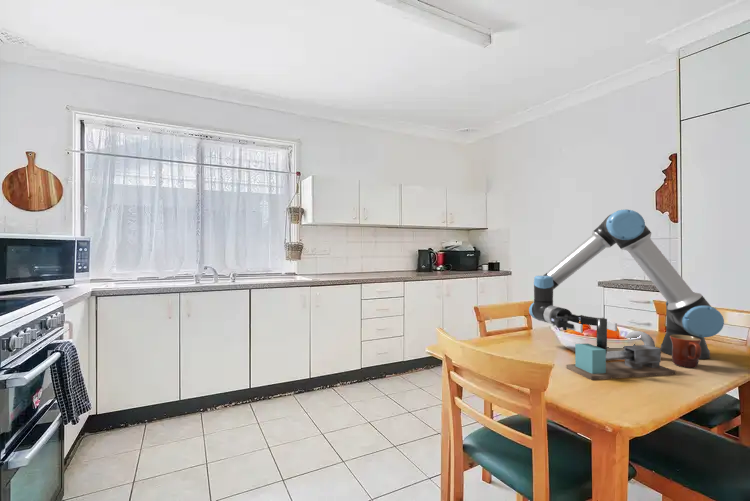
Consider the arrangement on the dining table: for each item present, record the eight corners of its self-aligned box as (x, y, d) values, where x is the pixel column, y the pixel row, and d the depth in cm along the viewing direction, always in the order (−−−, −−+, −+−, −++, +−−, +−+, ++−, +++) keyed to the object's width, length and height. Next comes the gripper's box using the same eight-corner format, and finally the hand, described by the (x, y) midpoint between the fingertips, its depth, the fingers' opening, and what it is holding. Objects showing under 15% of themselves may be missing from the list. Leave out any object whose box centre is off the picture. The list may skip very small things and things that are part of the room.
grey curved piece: (656, 358, 142) (656, 332, 142) (653, 360, 139) (653, 334, 139) (625, 352, 149) (626, 328, 149) (623, 354, 147) (623, 329, 147)
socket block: (588, 365, 130) (588, 343, 129) (605, 373, 122) (605, 349, 122) (575, 366, 129) (575, 344, 129) (592, 373, 121) (592, 350, 121)
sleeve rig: (644, 363, 136) (644, 342, 135) (675, 374, 124) (675, 351, 124) (566, 368, 130) (566, 345, 130) (591, 380, 119) (591, 355, 118)
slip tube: (632, 357, 130) (632, 316, 129) (639, 360, 127) (639, 318, 126) (585, 360, 127) (585, 318, 126) (592, 362, 124) (592, 320, 123)
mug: (664, 361, 138) (664, 334, 138) (691, 362, 137) (691, 335, 136) (684, 371, 127) (684, 342, 126) (713, 373, 125) (713, 343, 125)
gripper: (585, 324, 150) (630, 337, 129) (530, 326, 146) (566, 340, 125) (585, 306, 150) (630, 316, 129) (530, 308, 146) (566, 318, 125)
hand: (599, 327), depth 127 cm, fingers open, 13 cm apart
